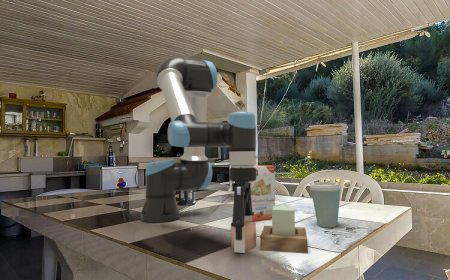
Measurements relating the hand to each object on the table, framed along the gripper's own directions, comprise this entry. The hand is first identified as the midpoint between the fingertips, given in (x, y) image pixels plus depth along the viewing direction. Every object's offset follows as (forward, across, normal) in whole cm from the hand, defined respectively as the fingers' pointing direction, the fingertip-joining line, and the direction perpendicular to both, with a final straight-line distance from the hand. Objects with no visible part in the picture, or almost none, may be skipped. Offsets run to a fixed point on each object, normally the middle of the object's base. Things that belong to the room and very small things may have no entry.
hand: (243, 244), depth 80 cm
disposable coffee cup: (0, +28, -25) cm, 38 cm away
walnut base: (0, +3, -11) cm, 11 cm away
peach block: (0, 0, 0) cm, 0 cm away
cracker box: (0, +33, 0) cm, 33 cm away
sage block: (-2, +3, -11) cm, 11 cm away
